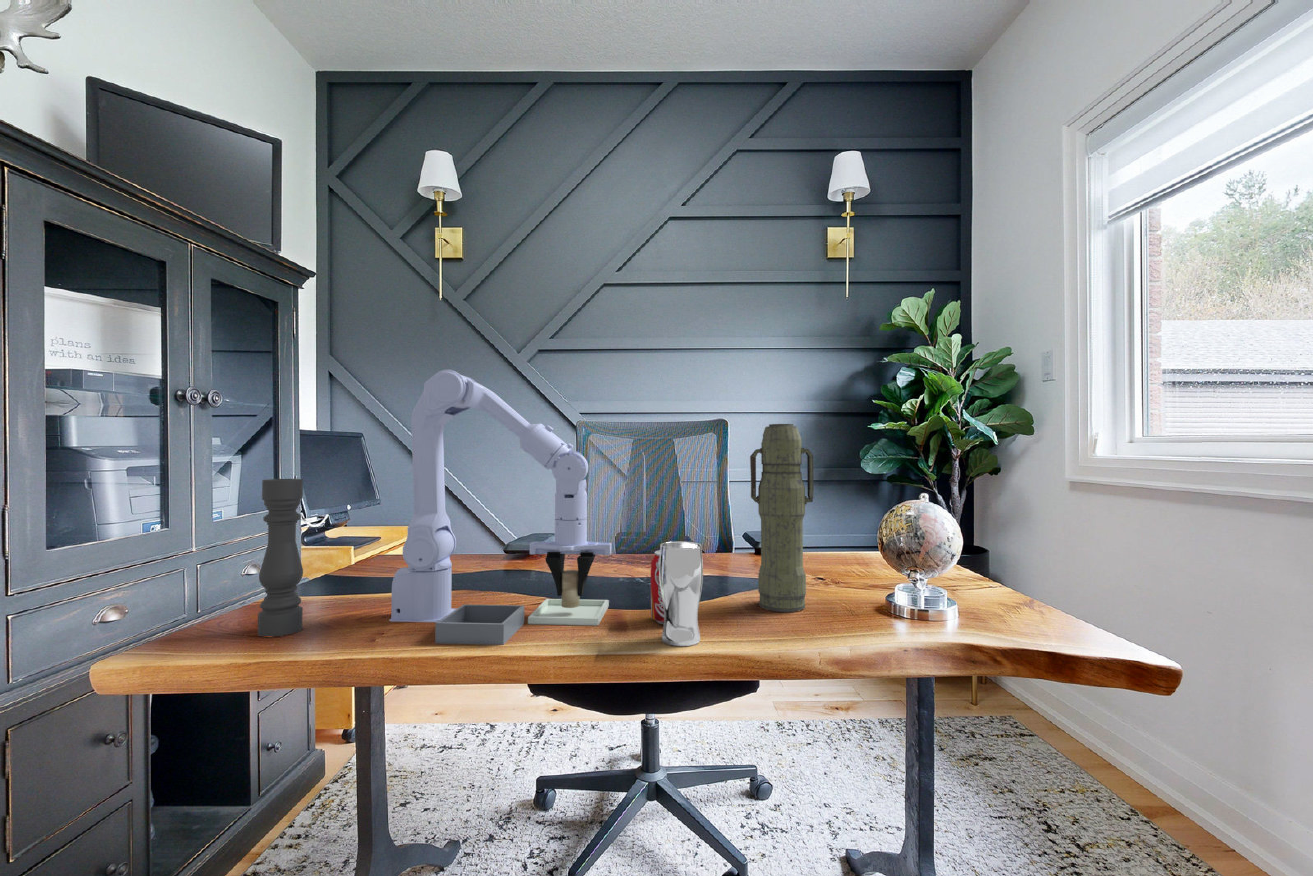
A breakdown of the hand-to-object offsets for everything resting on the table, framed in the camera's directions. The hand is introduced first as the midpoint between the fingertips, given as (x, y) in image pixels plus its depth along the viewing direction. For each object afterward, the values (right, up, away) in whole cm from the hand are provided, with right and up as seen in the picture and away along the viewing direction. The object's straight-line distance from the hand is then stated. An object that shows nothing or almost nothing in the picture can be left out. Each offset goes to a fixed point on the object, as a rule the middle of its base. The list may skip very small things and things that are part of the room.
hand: (570, 594), depth 101 cm
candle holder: (-47, -4, -8) cm, 47 cm away
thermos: (+40, -4, +7) cm, 40 cm away
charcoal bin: (-13, -4, -10) cm, 17 cm away
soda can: (+18, -4, -2) cm, 19 cm away
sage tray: (0, -4, 0) cm, 4 cm away
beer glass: (+19, -4, -12) cm, 23 cm away
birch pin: (0, -2, 0) cm, 2 cm away
